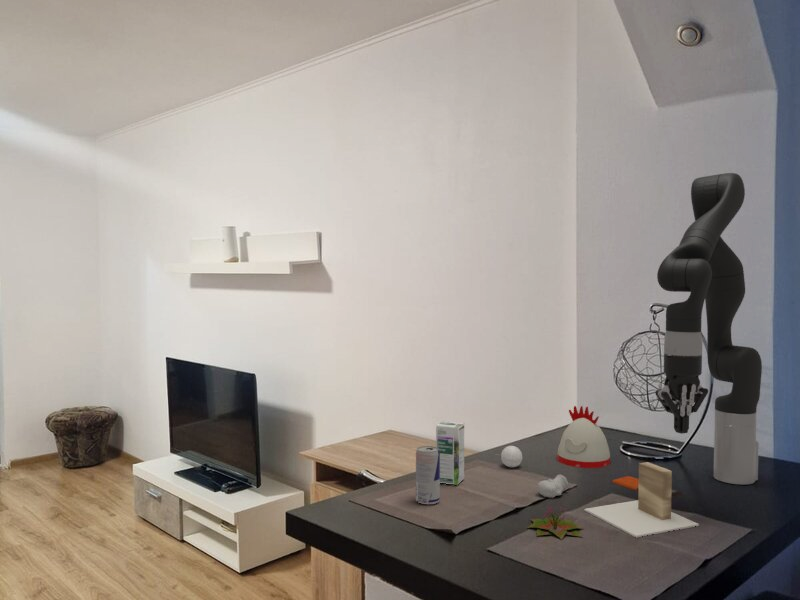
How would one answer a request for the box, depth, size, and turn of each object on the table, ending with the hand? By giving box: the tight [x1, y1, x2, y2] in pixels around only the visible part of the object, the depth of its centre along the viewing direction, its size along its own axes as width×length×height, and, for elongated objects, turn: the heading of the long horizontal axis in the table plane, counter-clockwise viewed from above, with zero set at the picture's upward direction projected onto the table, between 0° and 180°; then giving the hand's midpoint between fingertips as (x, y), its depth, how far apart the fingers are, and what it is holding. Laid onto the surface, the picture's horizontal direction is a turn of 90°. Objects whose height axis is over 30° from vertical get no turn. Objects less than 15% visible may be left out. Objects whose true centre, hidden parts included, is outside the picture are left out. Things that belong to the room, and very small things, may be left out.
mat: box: [583, 499, 700, 539], centre depth 141 cm, size 16×16×1 cm
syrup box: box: [435, 420, 465, 486], centre depth 165 cm, size 6×6×14 cm
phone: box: [611, 475, 682, 499], centre depth 161 cm, size 6×1×15 cm
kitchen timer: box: [557, 405, 611, 469], centre depth 184 cm, size 14×14×15 cm
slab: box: [637, 461, 673, 520], centre depth 142 cm, size 2×7×10 cm, turn 22°
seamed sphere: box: [496, 445, 523, 469], centre depth 179 cm, size 8×6×6 cm
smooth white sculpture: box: [537, 474, 569, 499], centre depth 156 cm, size 4×8×5 cm
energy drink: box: [415, 445, 441, 504], centre depth 151 cm, size 5×5×12 cm
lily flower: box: [526, 506, 585, 540], centre depth 135 cm, size 12×12×5 cm
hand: (681, 432), depth 145 cm, fingers closed
